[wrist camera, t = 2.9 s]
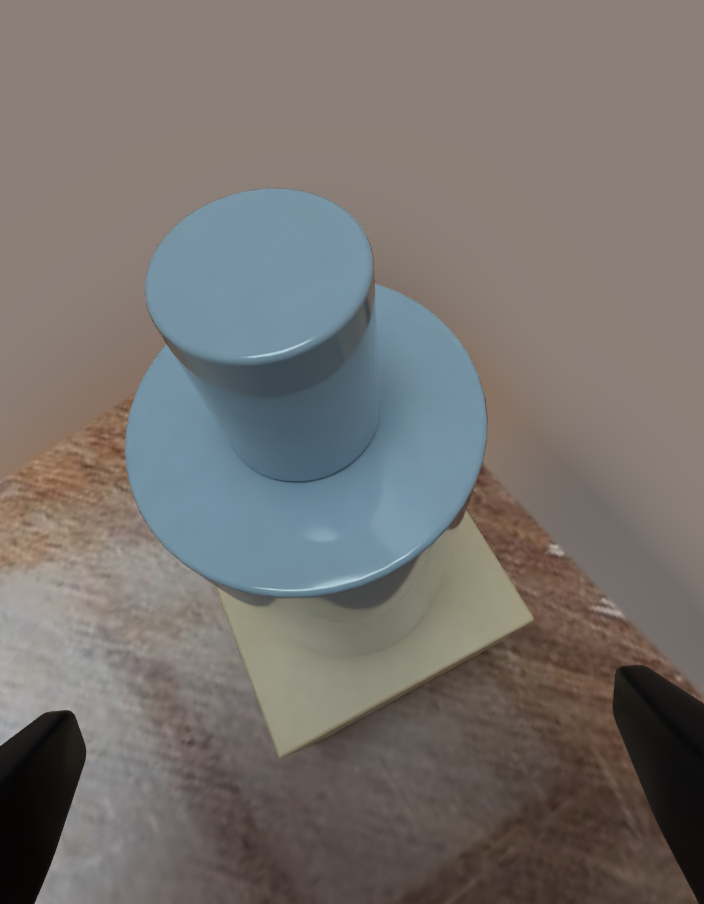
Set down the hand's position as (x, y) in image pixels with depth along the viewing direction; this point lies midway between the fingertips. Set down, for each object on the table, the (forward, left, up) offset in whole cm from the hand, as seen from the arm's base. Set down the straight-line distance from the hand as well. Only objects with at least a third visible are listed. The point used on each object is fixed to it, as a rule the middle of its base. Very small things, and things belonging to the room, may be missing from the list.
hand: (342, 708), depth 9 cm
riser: (+4, -1, -13) cm, 14 cm away
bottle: (+4, -1, -6) cm, 8 cm away
